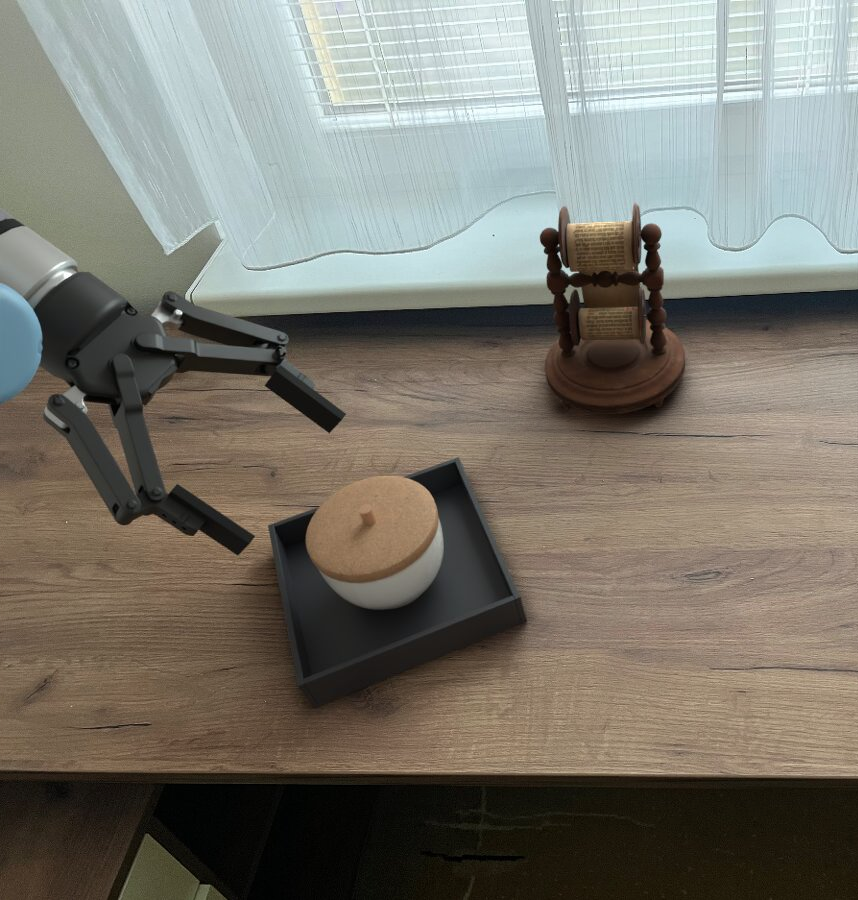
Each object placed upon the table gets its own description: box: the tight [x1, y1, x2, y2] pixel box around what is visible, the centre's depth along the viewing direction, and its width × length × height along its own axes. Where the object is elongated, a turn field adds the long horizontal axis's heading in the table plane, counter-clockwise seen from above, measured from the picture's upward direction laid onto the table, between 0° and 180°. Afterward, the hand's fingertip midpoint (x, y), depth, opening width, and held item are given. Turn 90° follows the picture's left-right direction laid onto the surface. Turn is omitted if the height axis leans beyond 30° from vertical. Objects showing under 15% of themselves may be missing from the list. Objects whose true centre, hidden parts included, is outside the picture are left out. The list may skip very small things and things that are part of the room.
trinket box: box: [306, 475, 444, 610], centre depth 73 cm, size 11×11×9 cm
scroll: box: [539, 202, 686, 415], centre depth 86 cm, size 15×15×20 cm
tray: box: [267, 456, 528, 709], centre depth 75 cm, size 18×18×3 cm
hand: (295, 481), depth 69 cm, fingers open, 13 cm apart
